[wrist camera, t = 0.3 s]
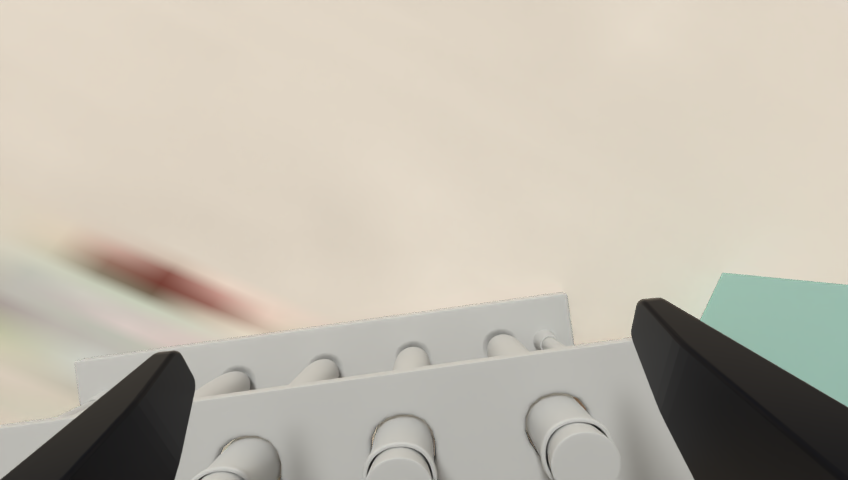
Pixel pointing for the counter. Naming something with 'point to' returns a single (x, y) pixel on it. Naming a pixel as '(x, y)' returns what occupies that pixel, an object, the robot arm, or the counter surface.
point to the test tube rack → (405, 401)
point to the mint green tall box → (787, 325)
